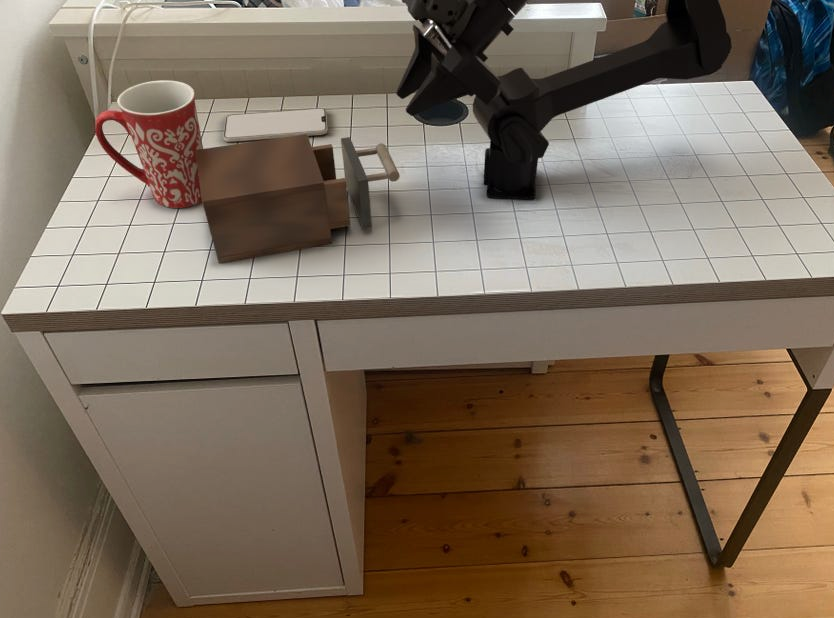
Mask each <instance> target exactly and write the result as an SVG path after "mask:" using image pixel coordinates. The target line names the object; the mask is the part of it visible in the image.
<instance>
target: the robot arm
mask: <svg viewBox="0 0 834 618" xmlns="http://www.w3.org/2000/svg"><path fill="white" fill-rule="evenodd" d="M529 1H530V0H401V2H402V4H405V5H406V7H407V11H408V13H409V15H410V16H411V17H412V19H414V21H415V22H419V23H420V26H419V27H418V26H416V25H415V24H413V25H412V31H413V35H414V44H415V45H414V50H413V52H412V55H411V57H410V60H409V63H408V65H407V67H406V69H405V70H404V74H403V76H402V78H401V81H400V83H399V84H398V86H397V89H396V91H395V94H396V96H397V97H398V98H400V99H401V100H404V99H406V98H408V97H409V96H411V95H413V94H414V93H415V94H414V95H413V97H412V98H411V99H410V101H409V103H408V104H407V106H406V107H405V112H406V113H407V114H408V115H409V116H411V117H414V116H416V115H417V116H418V115H419V114H421V113H423V112H426V111H428V110H431V109H433V108H436V107H438V106H440V105H443V104H446V103H448V102H452V101H454V100H457V99H460V98H463V97H466V96H469V97H471V98H472V97H473V96H475V97H474V99H473V102H472V113H473V115H474V118H475V120H476V121H477V123H478V124H479V126H480V127H481V128H482V130H483V131H484V133H485V134H486V136H487V137H488V139H489V140H490V142H489V147H487V148H485V149H484V150H485V151H484V163H483V164H484V165H483V186H485V187H486V193H485V194H486V196H487V197H488V198H495V199H496V198H500V199H517V200H535V199H536V197H537V173H538V164H539V159H542V158H544V156H545V154H546V151H547V149H548V147H549V145H550V142H549V140H548V139H547V138H546V137H545V135H544V134H543V133H542V131H543V130H544V128H545V127H547V125H548V124H549V123H550V122H551V121H552V120H553V118H556V117H558V116H560V115H563V114H566V113H569V112H571V111H575V110H577V109H580V108H582V107H585V106H587V105H590V104H594V103H595V102H599V101H602V100H604V99H607V98H610V97H612V96H615V95H618V94H621V93H624V92H626V91H629V90H632V89H635V88H637V87H639V86H640V87H641V86H643V85H646V84H648V83H651V82H653V81H656V80H663V79H664V80H676V81H677V80H678V81H688V80H694V79H695V80H696V79H699V78H704V77H709V76H711V75H714V74H715V73H717V72H718V71H720V70H721V69H722V68H723V64H724V63H725V62H726V60H727V59H728V58H729V55H730V53H731V49H732V38H731V36H730V33H729V32H727V21H726V19H725V16H724V12H723V10H722V7H721V4H720V1H719V0H666V1H665V6H664V15H665V20H666V21H665V22H663V23H661V24H660V25H659V26H658V27H657V28H656V29H655V30H654V31H653V33H652V34H651V35H650V36H649V37H648V38H647V39H646V40H645V41H642V42H639V43H636V44H634V45H631V46H628V47H625V48H622V49H619V50H616V51H613V52H611V53H609V54H606V55H603V56H601V57H596V58H595V59H591V60H589V61H587V62H584V63H581V64H579V65H575V66H572V67H570V68H567V69H565V70H562V71H559V72H556V73H553V74H551V75H548V76H546V77H545V76H544V77H542V78H531V76H530V75H529V74H528V73H527V72H526V71H525V70H524V68H523V67H518V68H514V69H512V70H511V71H508V72H507V73H504V74H503V75H502V74H501V75H498V76H497V75H496V73H494V71H493V70H492V69H491V67H490V66H489V65H487V64H486V62H487V60H488V59H489V57H488V56H487V55H486V54H485V51H486V50H487V49H488V48H489V46H491V44H492V43H494V41H495V40H496V39H497V38H498V36H500V34H501V33H502V32H503V34H505V36H506V37H509V35H510V34H511V33H512V32H513V31H514V30H515V29H514V27H513V26H512V25H511V24H510V23H511V22H512V21H513V19H514V18H515V17H516V16H517V15H518V14H519V12H520V11H521V10H522V9H524V7H525V6H526V5H527V4H528V3H529Z"/></svg>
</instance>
